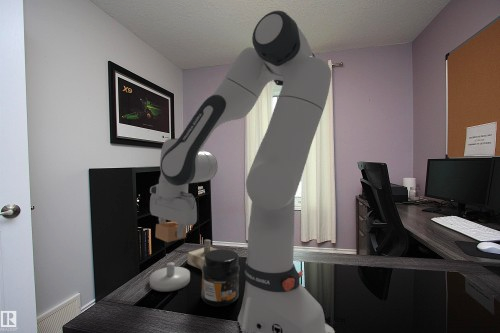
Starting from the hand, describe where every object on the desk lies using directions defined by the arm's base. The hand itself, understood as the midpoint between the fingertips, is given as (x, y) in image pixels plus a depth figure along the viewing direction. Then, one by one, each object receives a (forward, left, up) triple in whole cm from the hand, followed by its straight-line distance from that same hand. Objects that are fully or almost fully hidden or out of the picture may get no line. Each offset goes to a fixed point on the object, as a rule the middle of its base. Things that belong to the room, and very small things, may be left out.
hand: (171, 233), depth 74 cm
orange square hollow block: (0, 0, -1) cm, 1 cm away
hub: (0, 0, -15) cm, 15 cm away
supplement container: (-18, -4, -15) cm, 24 cm away
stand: (+2, -17, -15) cm, 23 cm away
